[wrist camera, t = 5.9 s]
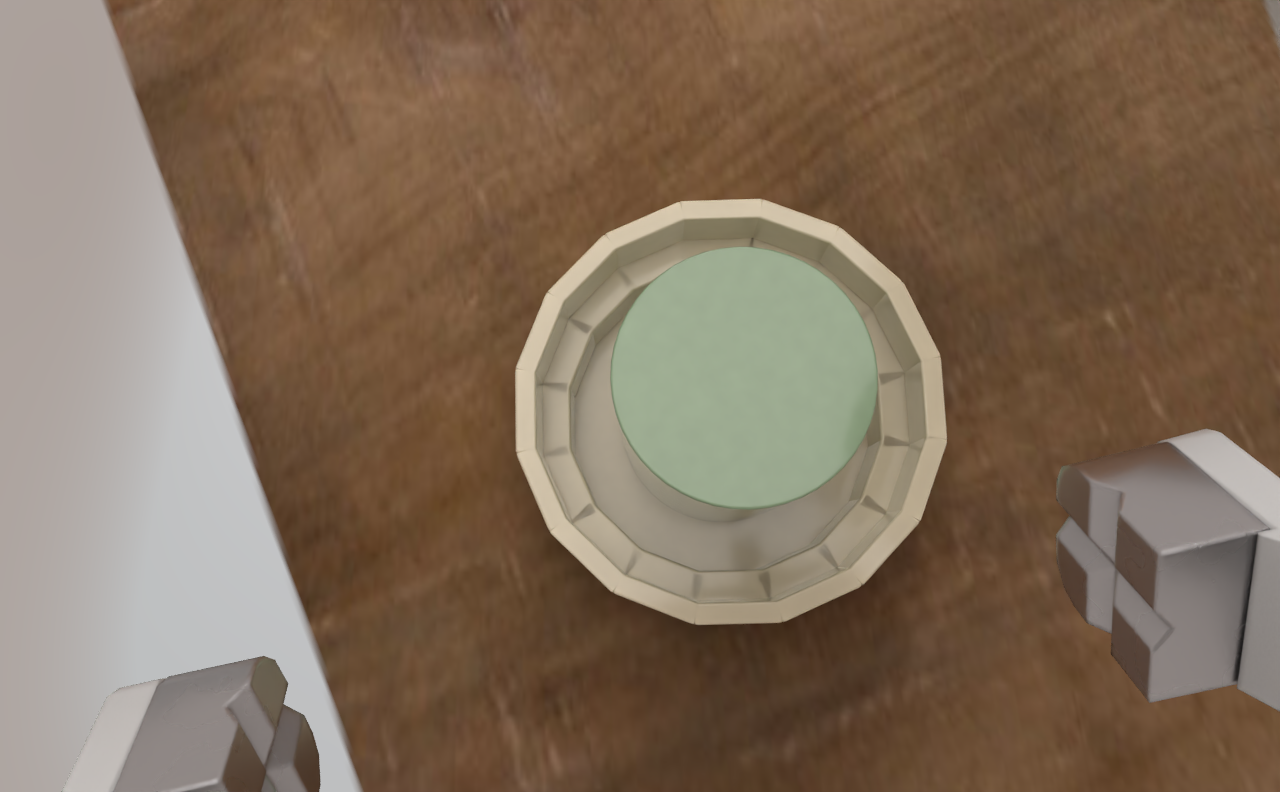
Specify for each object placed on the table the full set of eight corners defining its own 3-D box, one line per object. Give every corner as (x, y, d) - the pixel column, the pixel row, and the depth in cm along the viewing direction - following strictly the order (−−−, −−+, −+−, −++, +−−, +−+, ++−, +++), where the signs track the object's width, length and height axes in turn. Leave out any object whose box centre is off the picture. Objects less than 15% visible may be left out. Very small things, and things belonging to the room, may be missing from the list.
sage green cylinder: (767, 295, 33) (807, 205, 24) (853, 472, 32) (925, 442, 23) (589, 373, 32) (567, 309, 24) (671, 555, 31) (677, 554, 23)
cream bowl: (806, 190, 34) (829, 135, 30) (970, 519, 32) (1021, 513, 28) (476, 334, 33) (450, 299, 29) (624, 678, 31) (620, 697, 27)
